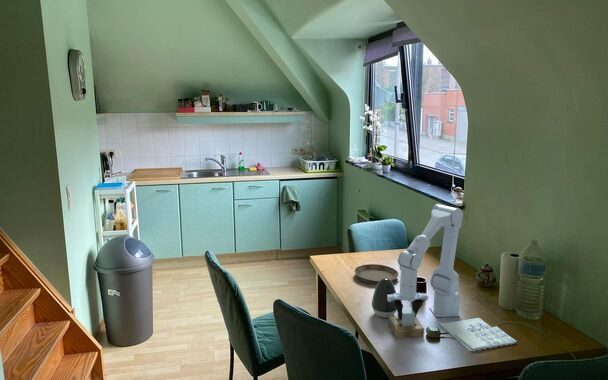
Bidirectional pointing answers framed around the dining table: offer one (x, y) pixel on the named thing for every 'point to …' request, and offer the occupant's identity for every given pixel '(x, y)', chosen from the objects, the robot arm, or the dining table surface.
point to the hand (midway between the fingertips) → (406, 318)
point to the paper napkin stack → (477, 334)
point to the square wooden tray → (406, 328)
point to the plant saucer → (375, 273)
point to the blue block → (408, 317)
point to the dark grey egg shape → (383, 299)
